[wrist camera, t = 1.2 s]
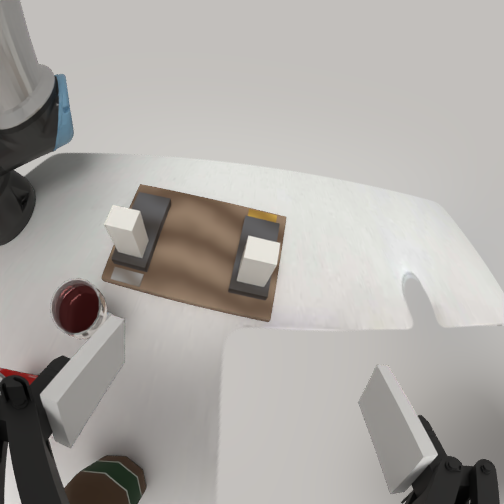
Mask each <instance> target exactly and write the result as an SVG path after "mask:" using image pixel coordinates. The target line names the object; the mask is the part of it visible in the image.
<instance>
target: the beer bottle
mask: <svg viewBox="0 0 504 504" xmlns="http://www.w3.org/2000/svg"><path fill="white" fill-rule="evenodd" d="M145 489H146V483H145V478H144V473H143V469H141V468H140V467H139V466H138V465H136V464H135V463H134V462H133V461H131V460H130V459H129V458H128V457H127V456H108V455H107V456H105V457H103V458H101V459H100V460H98V461H96V462H95V463H93V464H92V465H90V466H88V467H87V468H85V469H83V470H82V471H80V472H79V473H78V474H77V475H76V476H75V477H74V478H73V479H72V480H71V481H70V482H69V483H68V484H67V486H66V487H65V488H64V490H65V493H66V495H67V498H68V501H69V503H70V504H138V502H139V500H140V499H141V497H142V495H143V493H144V492H145Z"/></svg>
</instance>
